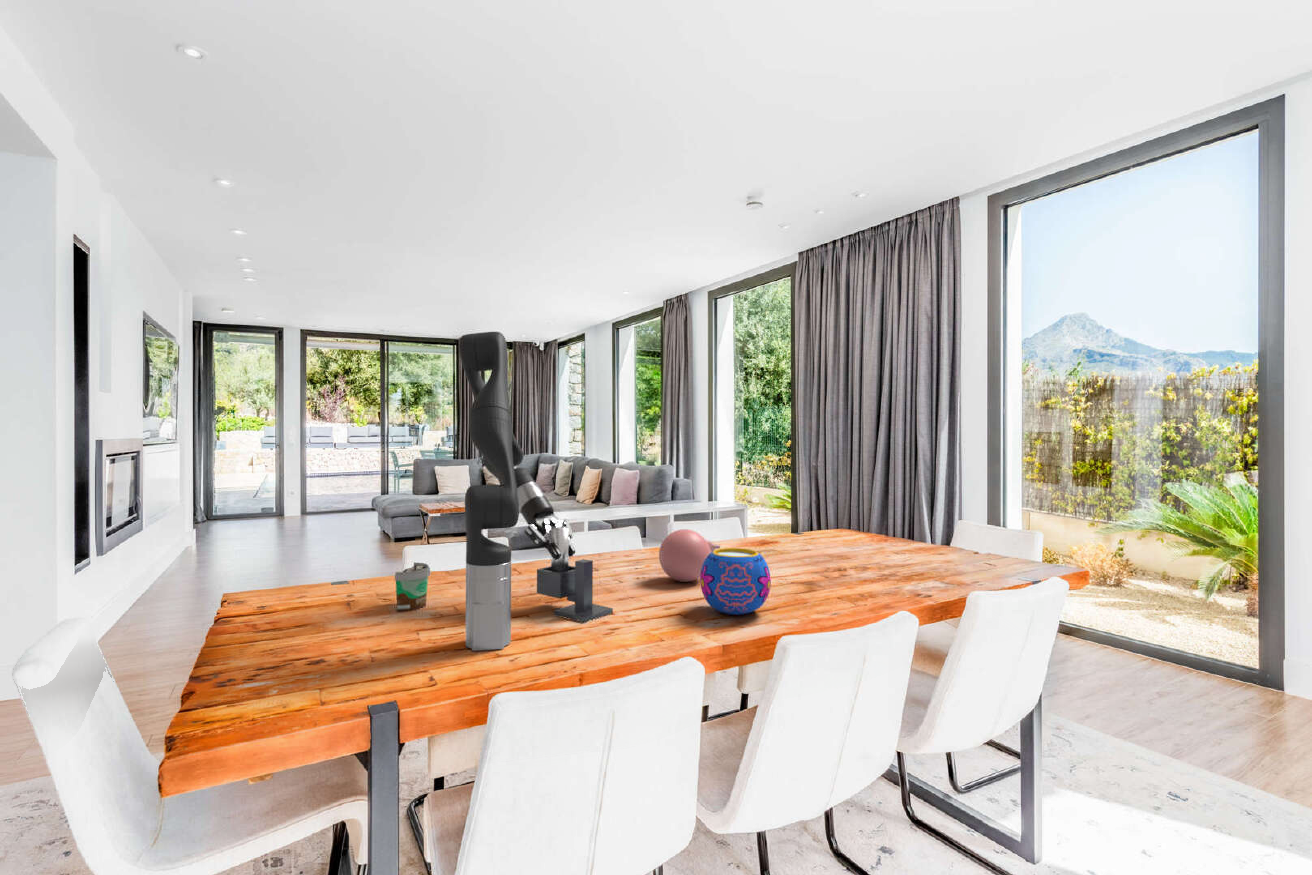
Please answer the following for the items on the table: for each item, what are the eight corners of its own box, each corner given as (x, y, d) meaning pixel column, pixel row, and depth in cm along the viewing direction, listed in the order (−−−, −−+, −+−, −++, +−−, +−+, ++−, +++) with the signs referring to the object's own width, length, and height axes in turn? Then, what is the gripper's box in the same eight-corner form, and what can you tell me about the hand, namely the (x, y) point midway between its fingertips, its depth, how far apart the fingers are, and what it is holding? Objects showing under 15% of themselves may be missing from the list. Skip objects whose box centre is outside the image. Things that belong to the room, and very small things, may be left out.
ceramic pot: (767, 603, 167) (768, 546, 167) (773, 624, 150) (774, 560, 149) (700, 601, 169) (701, 544, 169) (698, 621, 151) (698, 558, 151)
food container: (419, 614, 155) (419, 572, 155) (394, 613, 155) (394, 572, 155) (438, 600, 168) (438, 562, 168) (414, 600, 168) (414, 562, 168)
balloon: (733, 583, 189) (734, 531, 189) (672, 589, 181) (672, 535, 181) (708, 572, 203) (709, 523, 203) (650, 577, 195) (651, 527, 195)
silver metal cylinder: (569, 576, 159) (569, 528, 159) (551, 577, 158) (552, 529, 158) (567, 572, 164) (568, 525, 164) (550, 573, 163) (550, 526, 162)
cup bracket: (612, 613, 157) (613, 560, 157) (584, 622, 149) (585, 567, 149) (562, 601, 168) (562, 551, 167) (534, 610, 159) (534, 557, 159)
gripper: (518, 496, 159) (552, 551, 152) (559, 492, 171) (593, 542, 164) (504, 515, 163) (537, 570, 156) (545, 510, 174) (577, 560, 167)
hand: (565, 555), depth 160 cm, fingers closed on silver metal cylinder, 4 cm apart
